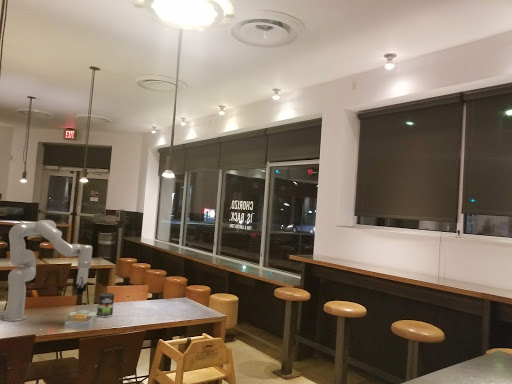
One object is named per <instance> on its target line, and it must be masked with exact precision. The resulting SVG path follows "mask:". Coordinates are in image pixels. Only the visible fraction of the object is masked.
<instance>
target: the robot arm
mask: <svg viewBox="0 0 512 384" xmlns="http://www.w3.org/2000/svg"><path fill="white" fill-rule="evenodd" d="M33 236H35V237H36V236H42V237H43V238H44V239H46V240H48V241H49V242H50V243H51V244H52V247H53V249H55V251H57V252H58V253H59V254H61V255H62V256H64V257H67V258H71V257H77V256H78V259H77V268H78V271H77V276H76V285H77V290H76V292H77V293H76V295H77V296H80V295H81V296H82V295H83V294H84V292H86V291H87V282H88V277H89V271H90V270H89V269H90V268H92V266H91V265H92V258H93V257H92V256H93V246H92V245H91V244H90V245H88V244H80V243H69V242H67V241H65V240H64V239H63V237H62V236H63V232H62V231H61V230H59V229H58V228H57V224H56V222H55V221H53V220H51V219H41V220H38V221H36V222H21V223H16V224H15V225H13V226H12V227H11V228H10V230H9V233H8V239H9V253H10V257H9V259H10V260H9V261H10V264H11V265H13V266H15V267H16V268H14V269H12V270H11V271H10V272H9V273H8V276H7V278H8V279H7V280H8V294H7V305H6V311H0V317H2V316H3V317H2V320H3V321H6V322H19V321H23V320H25V319H26V318H27V315H26V314H25V307H26V306H25V305H26V297H27V296H26V295H27V287H26V282H30V281H33V279H35V277H36V274H37V266H36V264H37V263H36V259H37V258H36V253H34V251H33V250H31V249H27V248H26V246H27V245H26V241H25V239H24V237H33ZM18 266H20V267H18Z"/></svg>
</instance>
